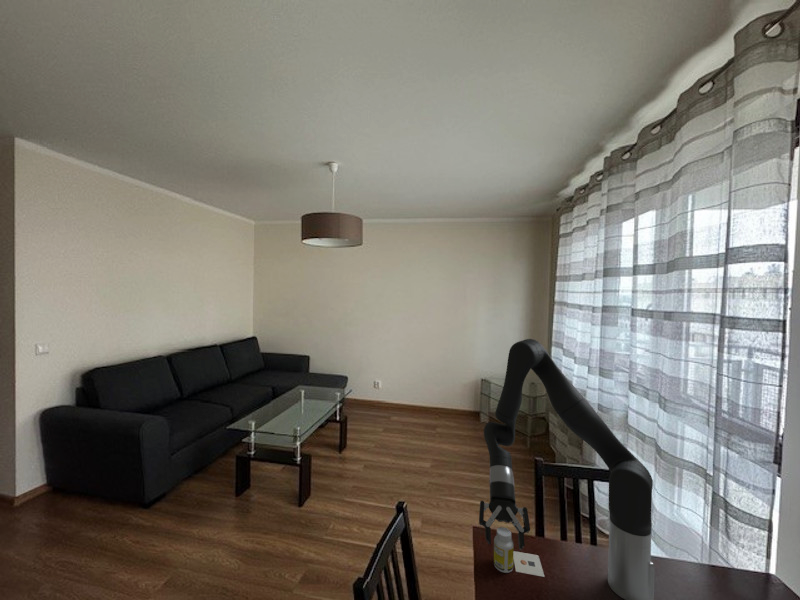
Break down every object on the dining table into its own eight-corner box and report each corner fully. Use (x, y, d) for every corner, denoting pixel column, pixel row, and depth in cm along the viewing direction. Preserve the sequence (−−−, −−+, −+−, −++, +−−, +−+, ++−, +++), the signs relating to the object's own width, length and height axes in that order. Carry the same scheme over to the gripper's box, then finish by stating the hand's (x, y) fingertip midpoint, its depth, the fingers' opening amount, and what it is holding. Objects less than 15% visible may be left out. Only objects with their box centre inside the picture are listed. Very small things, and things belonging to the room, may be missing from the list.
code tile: (538, 556, 99) (538, 555, 99) (544, 577, 91) (544, 576, 91) (511, 551, 100) (511, 550, 100) (516, 572, 92) (516, 571, 92)
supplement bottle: (510, 559, 97) (511, 526, 97) (515, 574, 91) (516, 539, 91) (491, 557, 97) (492, 524, 97) (495, 572, 92) (496, 537, 92)
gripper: (479, 477, 103) (480, 539, 92) (527, 483, 100) (534, 548, 89) (478, 485, 108) (478, 544, 97) (523, 491, 105) (529, 553, 94)
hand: (505, 546), depth 93 cm, fingers open, 8 cm apart
